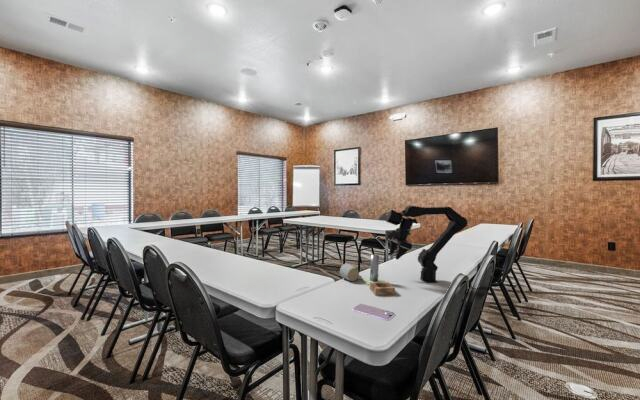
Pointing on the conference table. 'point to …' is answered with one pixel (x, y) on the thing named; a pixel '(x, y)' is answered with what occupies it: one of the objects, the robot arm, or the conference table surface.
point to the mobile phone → (374, 312)
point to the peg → (374, 268)
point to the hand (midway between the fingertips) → (393, 256)
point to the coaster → (367, 281)
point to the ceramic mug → (349, 272)
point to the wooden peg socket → (382, 288)
